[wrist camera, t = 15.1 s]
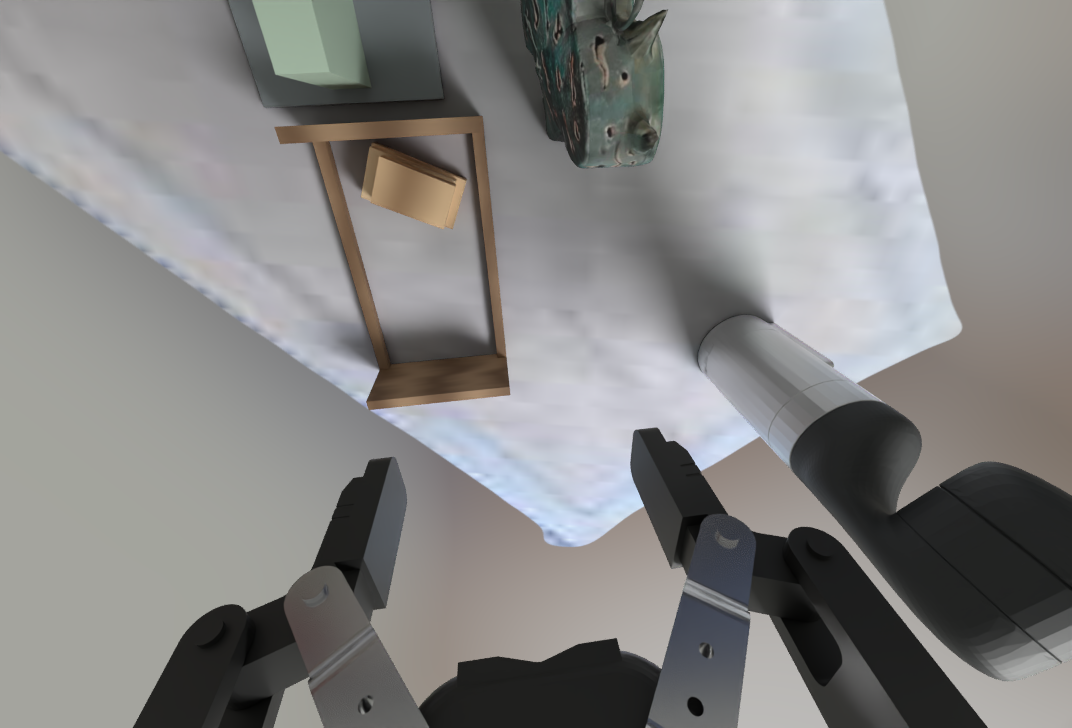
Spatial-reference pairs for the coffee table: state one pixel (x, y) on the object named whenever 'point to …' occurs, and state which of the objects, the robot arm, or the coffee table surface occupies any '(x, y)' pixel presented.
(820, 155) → the coffee table surface
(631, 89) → the green animal sculpture
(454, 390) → the walnut rack
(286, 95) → the rubber mat
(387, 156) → the offcut block
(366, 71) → the pale green block
